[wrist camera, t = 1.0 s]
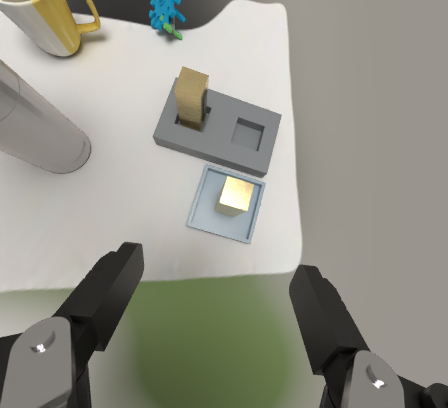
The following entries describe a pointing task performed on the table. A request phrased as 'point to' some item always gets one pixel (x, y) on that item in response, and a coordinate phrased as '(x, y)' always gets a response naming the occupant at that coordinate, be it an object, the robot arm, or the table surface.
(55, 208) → the table surface
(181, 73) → the seated billet
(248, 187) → the brass billet
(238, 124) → the grey slotted fixture block
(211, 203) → the light blue tray
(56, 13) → the mug
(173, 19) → the blue and green toy
